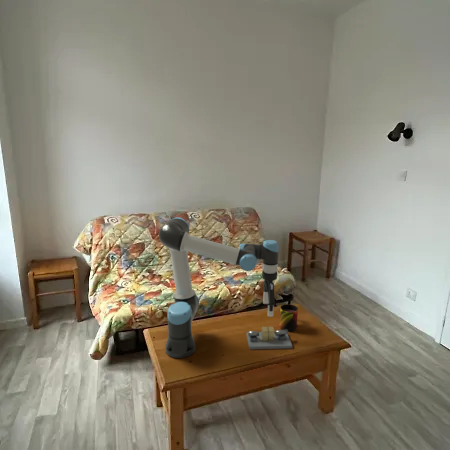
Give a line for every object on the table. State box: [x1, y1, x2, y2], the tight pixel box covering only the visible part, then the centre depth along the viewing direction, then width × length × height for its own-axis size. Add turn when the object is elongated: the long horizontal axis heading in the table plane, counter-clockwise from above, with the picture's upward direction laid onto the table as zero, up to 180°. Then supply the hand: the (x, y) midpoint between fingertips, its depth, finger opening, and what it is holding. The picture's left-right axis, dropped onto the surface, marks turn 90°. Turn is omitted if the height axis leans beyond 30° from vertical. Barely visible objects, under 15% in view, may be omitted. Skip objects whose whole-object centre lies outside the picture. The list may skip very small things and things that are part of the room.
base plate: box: [246, 331, 293, 350], centre depth 181 cm, size 22×13×2 cm, turn 93°
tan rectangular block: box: [260, 326, 275, 341], centre depth 180 cm, size 6×4×6 cm
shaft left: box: [247, 330, 259, 342], centre depth 180 cm, size 6×4×5 cm
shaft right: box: [274, 329, 289, 341], centre depth 182 cm, size 7×4×5 cm
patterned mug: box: [279, 303, 299, 333], centre depth 196 cm, size 10×14×12 cm
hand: (268, 309), depth 177 cm, fingers open, 13 cm apart
